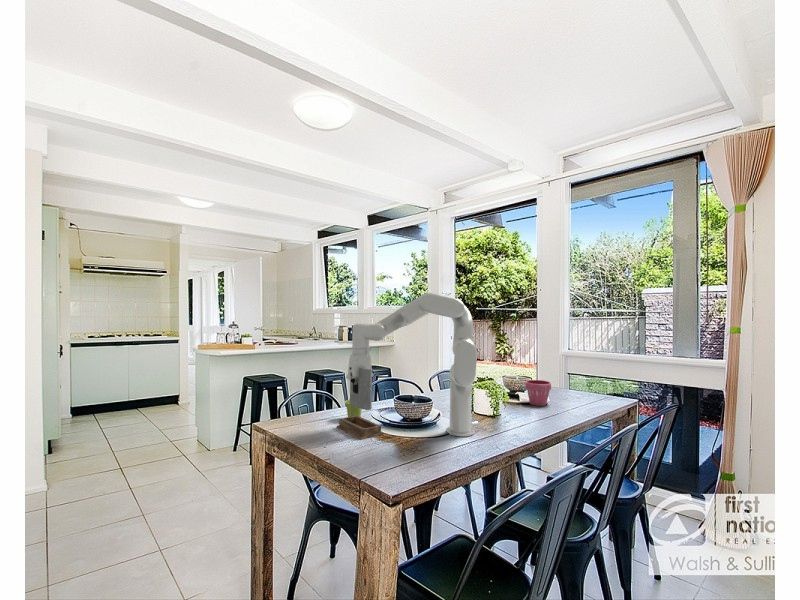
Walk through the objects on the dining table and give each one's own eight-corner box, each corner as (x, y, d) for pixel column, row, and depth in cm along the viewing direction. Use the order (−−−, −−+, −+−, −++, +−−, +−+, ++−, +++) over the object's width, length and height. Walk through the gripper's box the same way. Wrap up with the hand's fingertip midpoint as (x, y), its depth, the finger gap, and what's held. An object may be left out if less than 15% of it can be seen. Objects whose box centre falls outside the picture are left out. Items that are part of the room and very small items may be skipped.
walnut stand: (359, 423, 202) (359, 415, 202) (383, 434, 186) (383, 425, 186) (336, 427, 195) (336, 419, 195) (359, 439, 179) (360, 430, 179)
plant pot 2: (520, 401, 251) (520, 379, 251) (542, 400, 254) (542, 379, 254) (533, 407, 237) (533, 384, 237) (555, 406, 240) (556, 383, 240)
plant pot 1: (341, 420, 206) (341, 402, 206) (349, 415, 215) (349, 398, 215) (358, 422, 203) (359, 404, 203) (366, 417, 212) (366, 400, 212)
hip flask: (372, 409, 185) (373, 363, 185) (364, 410, 183) (365, 364, 182) (354, 401, 198) (355, 358, 198) (346, 403, 195) (347, 359, 195)
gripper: (371, 349, 198) (370, 388, 198) (340, 351, 188) (339, 393, 188) (380, 351, 192) (380, 391, 192) (348, 353, 182) (347, 396, 182)
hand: (359, 392), depth 190 cm, fingers closed on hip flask, 3 cm apart
